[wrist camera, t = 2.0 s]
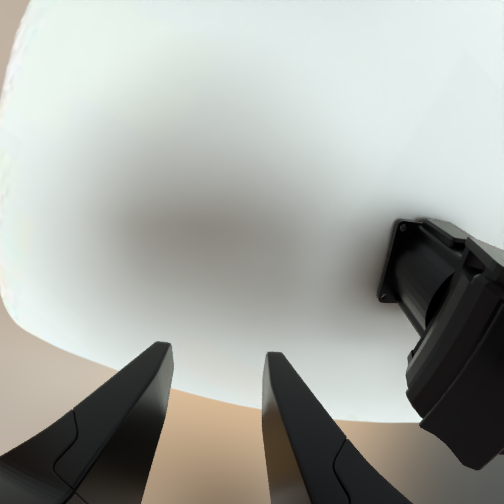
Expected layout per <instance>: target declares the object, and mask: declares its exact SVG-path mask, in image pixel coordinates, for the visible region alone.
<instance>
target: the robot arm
mask: <svg viewBox="0 0 504 504" xmlns="http://www.w3.org/2000/svg"><path fill="white" fill-rule="evenodd" d="M402 224H404V227H403V228H402V229H400V226H401V225H402ZM383 294H385V296H384V297H381V296H382V295H383ZM376 297H377V299H378V300H379V302H382V303H398V305H399V306H400V307H401V309H402V310H403V312H404V313H405V315H406V316H407V318H408V319H409V320H410V322H411V323H412V325H413V326H414V328H415V329H416V331H417V332H418V334H419V335H420V337H421V338H420V340H419V342H418V343H417V345H416V347H415V348H414V350H412V351H411V352H410V354H409V355H408V357H407V358H408V367H407V371H406V380H407V386H408V389H407V391H406V396H407V398H408V400H409V401H410V403H411V405H412V407H413V408H414V409H415V410H416V412H417V413H418V414H419V416H420V417H422V418H423V420H422V421H421V422H420V423H419V426H420V427H421V428H423V429H424V430H426V431H428V432H430V433H432V434H434V435H435V436H437V437H438V438H439V439H440V440H442V441H443V442H444V443H445V444H446V445H447V446H448V447H449V448H450V449H451V450H452V452H453V453H454V454H455V456H456V457H457V458H458V459H459V461H460V462H461V463H462V464H463V465H464V466H467V467H469V468H472V469H474V470H481V469H482V468H484V467H485V466H486V465H487V464H488V463H489V462H490V461H492V460H493V459H494V458H495V457H496V456H497V455H500V456H504V250H501V249H499V248H497V247H494V246H492V245H490V244H487V243H485V242H482V241H480V240H477V239H475V238H474V237H472V236H471V235H469V234H468V233H466V232H465V231H463V230H461V229H460V228H458V227H457V226H455V225H453V224H452V223H450V222H445V221H440V220H434V219H428V218H425V219H424V220H422V222H418V221H411V220H404V219H400V220H398V221H397V222H396V223H395V226H394V231H393V235H392V239H391V243H390V247H389V251H388V255H387V259H386V263H385V267H384V270H383V274H382V277H381V281H380V284H379V288H378V291H377V295H376ZM173 370H174V362H173V352H172V345H171V344H170V343H168V342H160V341H157V342H155V343H154V344H152V345H151V346H150V347H149V348H147V349H146V350H145V351H144V352H142V353H141V354H140V355H139V356H138V357H136V358H135V359H134V360H133V361H131V362H130V363H129V364H128V365H126V366H125V367H124V368H123V369H121V370H120V371H119V372H118V373H116V374H115V375H114V376H113V377H111V378H110V379H109V380H108V381H107V382H105V383H104V384H103V385H101V386H100V387H99V388H98V389H96V390H95V391H94V392H93V393H92V394H90V395H89V396H88V397H86V398H85V399H84V400H83V401H82V402H80V403H79V404H78V405H76V406H75V407H74V408H73V410H74V411H73V410H70V411H69V412H67V413H66V414H65V415H64V416H62V417H61V418H60V419H58V420H57V421H56V422H54V423H53V424H52V425H50V426H49V427H48V428H46V429H44V430H43V431H41V432H40V433H38V434H37V435H36V436H34V437H32V438H30V439H29V440H27V441H25V442H24V443H22V444H20V445H19V446H17V447H15V448H13V449H12V450H10V451H9V452H7V453H5V454H3V455H1V456H0V504H141V501H142V497H143V494H144V490H145V486H146V483H147V479H148V476H149V472H150V469H151V465H152V462H153V458H154V455H155V451H156V448H157V445H158V441H159V438H160V434H161V431H162V428H163V424H164V421H165V416H166V411H167V406H168V399H169V394H170V388H171V382H172V376H173ZM262 432H263V441H264V450H265V458H266V465H267V474H268V482H269V490H270V498H271V504H412V503H411V502H410V501H409V500H408V499H407V498H406V497H404V496H403V495H402V494H401V493H400V492H399V491H398V490H397V489H396V488H394V487H393V486H392V485H391V484H390V483H389V482H388V481H387V480H386V479H384V478H383V477H382V476H381V475H380V474H379V473H378V472H377V471H376V470H375V469H374V468H373V467H372V466H371V465H370V464H369V463H368V462H367V461H366V459H365V458H364V457H363V456H362V455H361V454H360V452H359V451H358V450H357V449H356V448H355V447H354V445H353V444H352V443H351V442H350V440H349V439H346V435H345V434H344V433H343V432H342V430H341V429H340V428H339V427H338V425H337V424H336V423H335V421H334V420H333V419H332V418H331V416H330V415H329V414H328V412H327V411H326V410H325V409H324V407H323V406H322V405H321V403H320V402H319V401H318V400H317V398H316V397H315V396H314V394H313V393H312V392H311V390H310V389H309V388H308V386H307V385H306V384H305V383H304V381H303V380H302V379H301V377H300V376H299V375H298V373H297V372H296V371H295V369H294V368H293V367H292V365H291V364H290V363H289V361H288V360H287V359H286V357H285V356H284V355H283V353H281V352H267V354H266V358H265V365H264V371H263V387H262Z"/></svg>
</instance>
